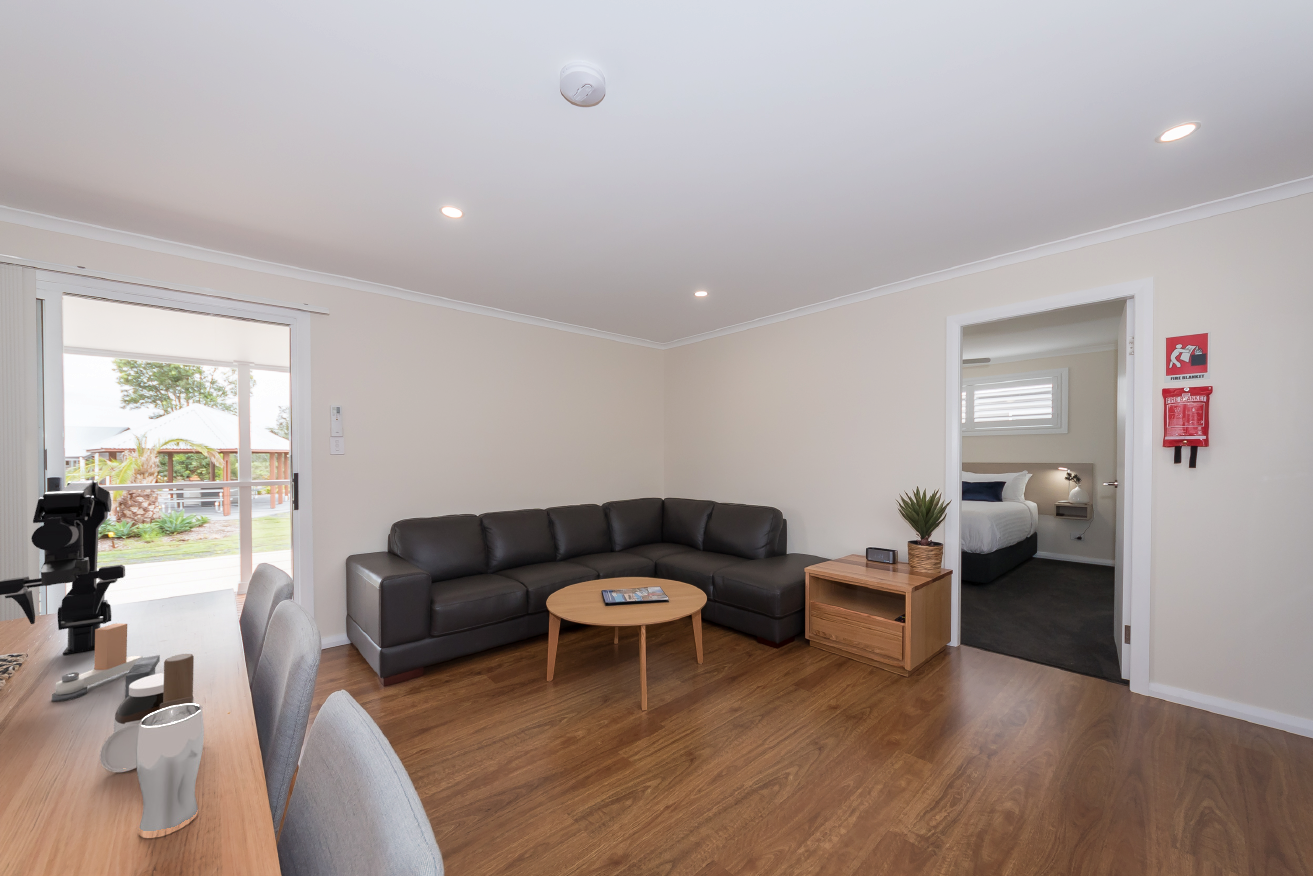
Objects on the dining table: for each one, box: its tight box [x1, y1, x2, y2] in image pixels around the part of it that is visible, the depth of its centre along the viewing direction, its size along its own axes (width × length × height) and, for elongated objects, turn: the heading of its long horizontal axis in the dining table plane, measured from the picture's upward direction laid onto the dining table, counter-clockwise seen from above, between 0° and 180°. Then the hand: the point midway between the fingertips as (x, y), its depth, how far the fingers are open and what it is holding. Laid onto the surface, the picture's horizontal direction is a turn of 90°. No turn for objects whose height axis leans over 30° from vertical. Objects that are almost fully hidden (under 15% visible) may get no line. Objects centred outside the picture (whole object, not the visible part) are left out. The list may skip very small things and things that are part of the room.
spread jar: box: [99, 672, 195, 773], centre depth 90 cm, size 12×11×12 cm
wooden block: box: [160, 653, 195, 710], centre depth 83 cm, size 4×11×18 cm, turn 41°
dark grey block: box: [124, 654, 161, 700], centre depth 114 cm, size 4×11×5 cm, turn 35°
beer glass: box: [135, 703, 205, 831], centre depth 73 cm, size 7×7×15 cm
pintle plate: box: [51, 672, 89, 703], centre depth 110 cm, size 5×5×4 cm
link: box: [55, 622, 144, 695], centre depth 116 cm, size 15×4×11 cm, turn 175°
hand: (64, 618), depth 116 cm, fingers open, 9 cm apart
